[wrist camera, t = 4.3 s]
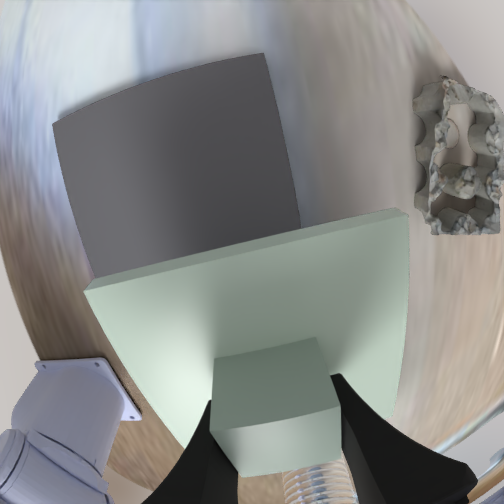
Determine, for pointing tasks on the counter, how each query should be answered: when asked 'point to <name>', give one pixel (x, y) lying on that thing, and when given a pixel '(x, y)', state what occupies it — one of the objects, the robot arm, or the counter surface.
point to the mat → (178, 166)
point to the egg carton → (454, 175)
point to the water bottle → (319, 484)
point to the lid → (267, 336)
